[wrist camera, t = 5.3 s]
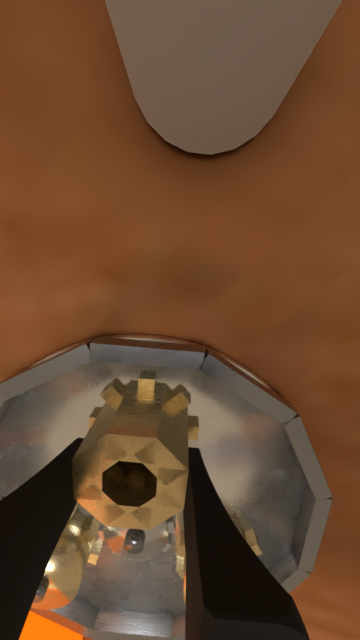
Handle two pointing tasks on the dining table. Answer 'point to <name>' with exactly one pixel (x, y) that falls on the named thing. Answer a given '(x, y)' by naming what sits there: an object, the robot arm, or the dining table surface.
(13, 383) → the carrier
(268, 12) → the can
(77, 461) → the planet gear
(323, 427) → the dining table surface
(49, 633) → the orange juice
